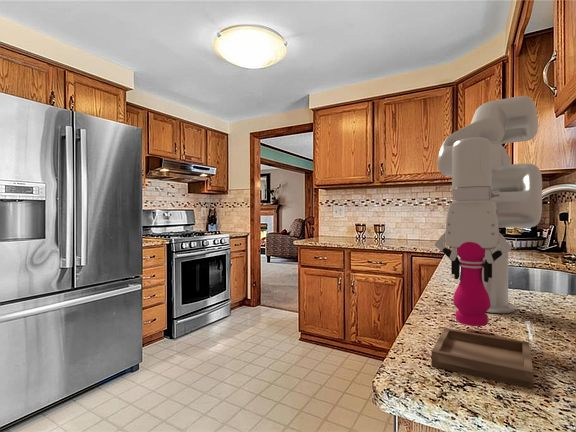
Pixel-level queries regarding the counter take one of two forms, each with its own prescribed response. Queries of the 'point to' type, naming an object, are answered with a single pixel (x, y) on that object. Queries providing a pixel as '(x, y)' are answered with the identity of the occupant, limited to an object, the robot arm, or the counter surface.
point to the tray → (484, 357)
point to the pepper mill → (471, 287)
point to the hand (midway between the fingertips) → (471, 278)
